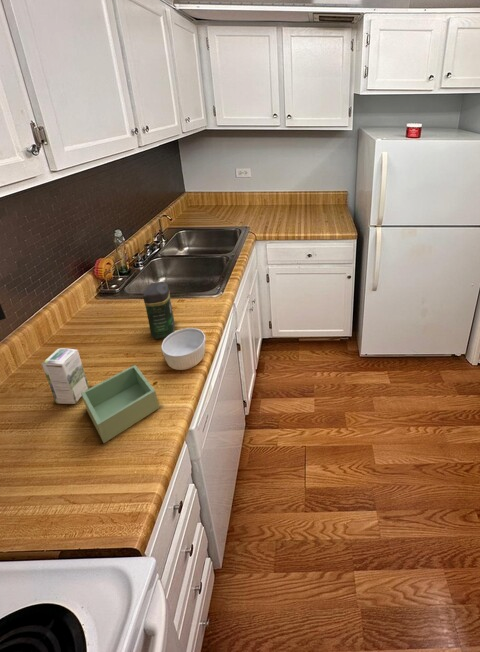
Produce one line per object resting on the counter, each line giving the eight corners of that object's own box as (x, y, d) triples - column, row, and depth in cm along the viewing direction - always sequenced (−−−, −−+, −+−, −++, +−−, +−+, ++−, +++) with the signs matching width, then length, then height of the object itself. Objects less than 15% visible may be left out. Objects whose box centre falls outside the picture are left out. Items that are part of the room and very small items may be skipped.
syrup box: (70, 387, 96) (56, 347, 91) (90, 387, 96) (77, 348, 91) (55, 403, 91) (39, 362, 86) (76, 404, 91) (61, 363, 86)
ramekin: (207, 368, 103) (204, 351, 101) (161, 377, 100) (157, 359, 97) (208, 341, 115) (205, 324, 113) (167, 348, 112) (163, 331, 109)
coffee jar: (174, 337, 117) (166, 292, 110) (150, 342, 114) (139, 296, 108) (176, 321, 125) (169, 278, 118) (153, 325, 123) (144, 281, 116)
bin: (103, 443, 81) (97, 424, 78) (86, 410, 89) (80, 392, 87) (159, 408, 90) (155, 390, 88) (139, 381, 99) (135, 364, 96)
